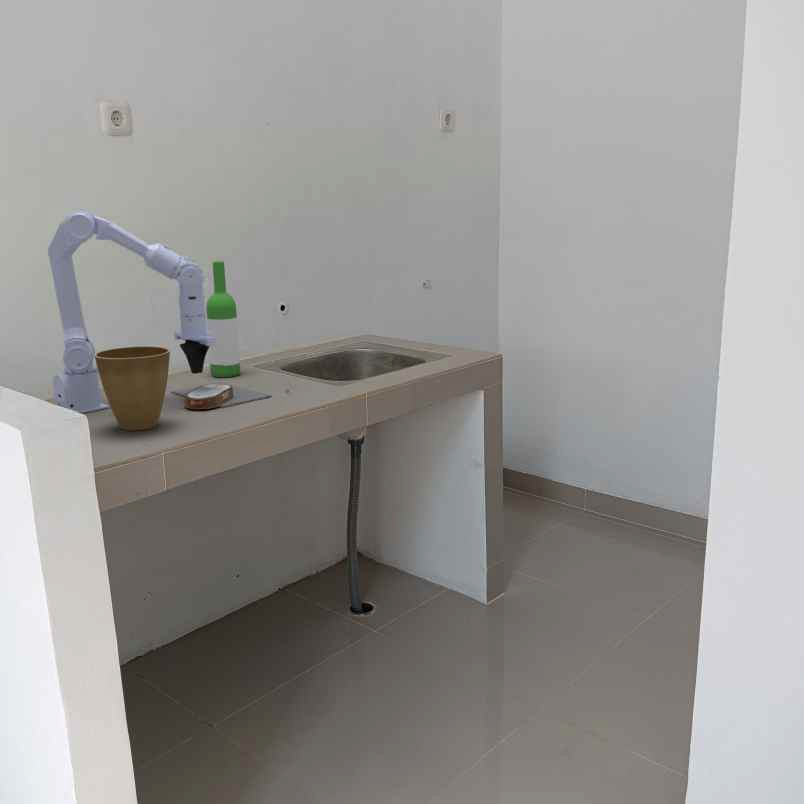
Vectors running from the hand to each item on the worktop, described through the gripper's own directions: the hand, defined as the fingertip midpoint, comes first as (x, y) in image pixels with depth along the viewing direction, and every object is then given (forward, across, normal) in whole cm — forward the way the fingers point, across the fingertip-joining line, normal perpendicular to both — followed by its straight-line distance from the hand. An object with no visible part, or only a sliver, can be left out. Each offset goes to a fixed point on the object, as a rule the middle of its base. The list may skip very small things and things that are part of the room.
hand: (197, 372), depth 202 cm
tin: (+4, -1, +3) cm, 5 cm away
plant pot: (+7, -11, +21) cm, 25 cm away
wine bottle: (+7, +18, -20) cm, 27 cm away
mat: (+6, 0, -6) cm, 9 cm away
